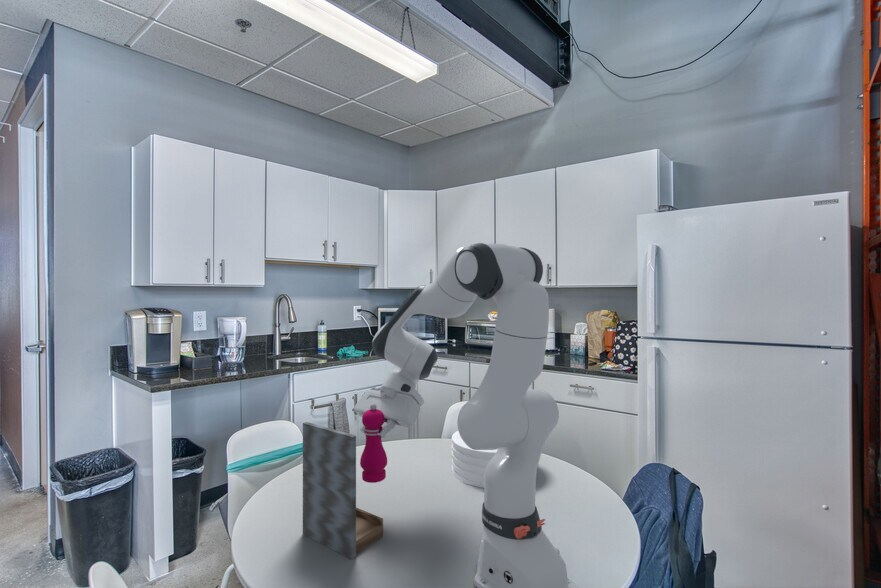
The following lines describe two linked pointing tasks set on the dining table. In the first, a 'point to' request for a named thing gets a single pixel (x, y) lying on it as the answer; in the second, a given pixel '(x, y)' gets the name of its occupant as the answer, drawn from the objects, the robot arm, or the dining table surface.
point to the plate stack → (469, 462)
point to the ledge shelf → (334, 493)
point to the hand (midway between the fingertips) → (371, 434)
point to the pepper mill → (373, 447)
